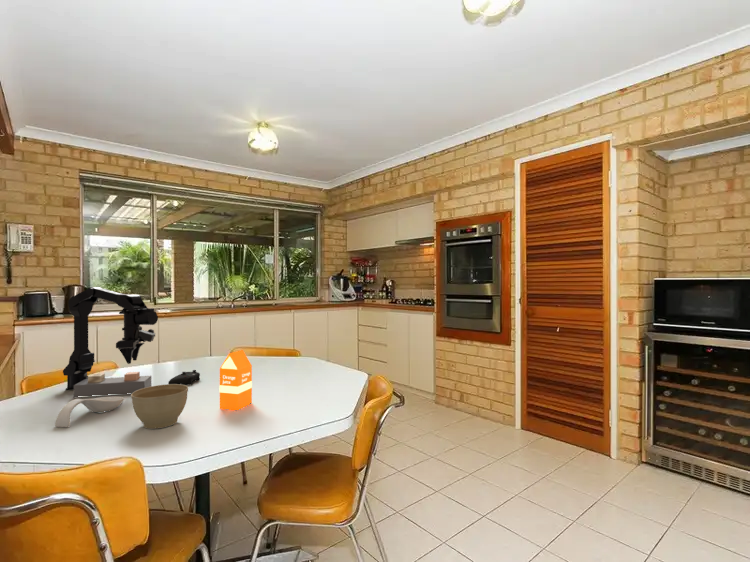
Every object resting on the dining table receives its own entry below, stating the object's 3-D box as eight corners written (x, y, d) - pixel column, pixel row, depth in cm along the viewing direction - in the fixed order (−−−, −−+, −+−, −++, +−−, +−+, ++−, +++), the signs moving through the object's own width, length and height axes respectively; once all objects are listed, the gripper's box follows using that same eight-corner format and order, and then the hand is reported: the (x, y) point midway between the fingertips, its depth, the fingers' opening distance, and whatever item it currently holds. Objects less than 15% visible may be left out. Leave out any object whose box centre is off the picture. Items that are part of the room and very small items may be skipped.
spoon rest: (101, 404, 149) (101, 385, 149) (131, 405, 148) (131, 386, 148) (44, 428, 125) (44, 405, 125) (79, 429, 124) (79, 406, 124)
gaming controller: (182, 369, 189) (202, 365, 188) (184, 382, 189) (204, 378, 188) (165, 376, 175) (187, 372, 174) (167, 390, 175) (189, 386, 174)
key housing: (73, 397, 157) (73, 385, 157) (84, 391, 167) (84, 379, 167) (144, 393, 163) (144, 381, 163) (151, 387, 173) (151, 375, 173)
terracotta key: (124, 384, 164) (124, 374, 164) (127, 381, 168) (128, 372, 168) (136, 383, 165) (136, 374, 165) (139, 381, 169) (139, 371, 169)
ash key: (87, 386, 161) (87, 376, 161) (92, 383, 165) (92, 374, 165) (100, 385, 162) (100, 376, 162) (104, 383, 166) (104, 373, 166)
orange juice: (252, 403, 149) (252, 350, 149) (238, 410, 141) (238, 354, 141) (234, 401, 151) (234, 349, 152) (219, 409, 143) (219, 353, 143)
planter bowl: (174, 412, 139) (174, 381, 139) (197, 422, 129) (197, 389, 129) (122, 425, 127) (122, 391, 127) (143, 437, 117) (143, 400, 117)
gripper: (146, 326, 160) (147, 365, 160) (159, 322, 178) (159, 357, 178) (115, 327, 157) (115, 367, 157) (131, 322, 175) (131, 358, 175)
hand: (132, 362), depth 167 cm, fingers open, 7 cm apart
